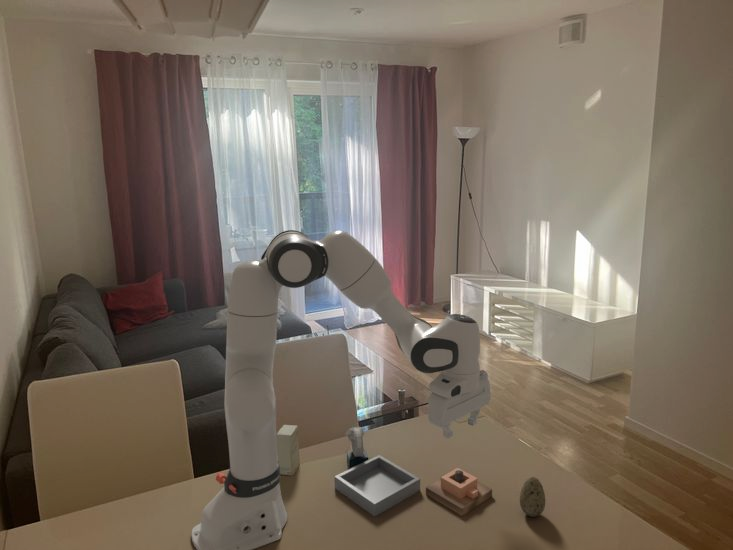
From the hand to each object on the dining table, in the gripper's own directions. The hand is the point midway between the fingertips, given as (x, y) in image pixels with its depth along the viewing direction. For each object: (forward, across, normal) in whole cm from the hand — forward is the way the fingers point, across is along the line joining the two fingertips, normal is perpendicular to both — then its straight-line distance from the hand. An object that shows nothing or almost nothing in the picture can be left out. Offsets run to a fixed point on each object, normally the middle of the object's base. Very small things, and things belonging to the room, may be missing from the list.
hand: (460, 430), depth 136 cm
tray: (+18, +14, -16) cm, 28 cm away
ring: (+16, 0, 0) cm, 16 cm away
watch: (+18, +10, -29) cm, 36 cm away
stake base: (+18, 0, 0) cm, 18 cm away
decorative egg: (+18, -7, +17) cm, 26 cm away
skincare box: (+18, +26, -40) cm, 51 cm away
